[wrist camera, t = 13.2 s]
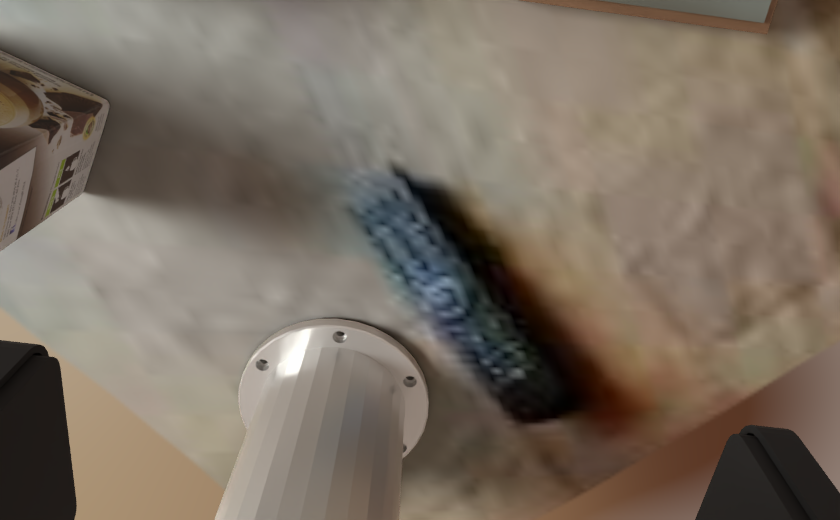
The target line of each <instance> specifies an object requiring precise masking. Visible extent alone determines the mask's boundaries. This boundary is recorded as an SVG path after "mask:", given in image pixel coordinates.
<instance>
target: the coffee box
mask: <svg viewBox="0 0 840 520" xmlns="http://www.w3.org/2000/svg"><path fill="white" fill-rule="evenodd" d="M109 107H110V104H109V102H108V101H107V100H106V99H104V98H101V97H99V96H97V95H95V94H93V93H91V92H89V91H87V90H85V89H82V88H80V87H78V86H76V85H74V84H72V83H70V82H67V81H65V80H63V79H61V78H59V77H57V76H54V75H52V74H50V73H48V72H46V71H44V70H42V69H40V68H37V67H35V66H33V65H31V64H29V63H27V62H25V61H23V60H20V59H18V58H16V57H14V56H12V55H10V54H8V53H5V52H3V51H1V50H0V251H1V250H3V249H4V248H6V247H7V246H9V245H10V244H11V243H13V242H14V241H15V240H17V239H18V238H20V237H21V236H23V235H24V234H26V233H27V232H29V231H30V230H31V229H33V228H34V227H36V226H37V225H38V224H40V223H41V222H43V221H44V220H46V219H47V218H49V217H50V216H51V215H52V214H54V213H55V212H57V211H58V210H60V209H61V208H62V207H64V206H65V205H67V204H68V203H69V202H71V201H72V200H74V199H75V198H77V197H78V196H79V195H81V194H82V193H83V192H84V189H85V186H86V182H87V179H88V176H89V173H90V170H91V167H92V164H93V161H94V157H95V154H96V151H97V148H98V145H99V141H100V138H101V135H102V132H103V129H104V125H105V122H106V119H107V115H108V111H109Z"/></svg>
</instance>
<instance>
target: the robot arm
mask: <svg viewBox="0 0 840 520" xmlns="http://www.w3.org/2000/svg"><path fill="white" fill-rule="evenodd" d="M339 331H341V332H343V333H341V332H339ZM238 404H239V409H240V413H241V418H242V420H243V422H244V425H245V427H246V429H247V433H246V436H245V439H244V441H243V444H242V447H241V449H240V452H239V455H238V458H237V460H236V463H235V466H234V468H233V471H232V474H231V476H230V479H229V482H228V485H227V487H226V490H225V493H224V495H223V498H222V501H221V504H220V506H219V509H218V512H217V514H216V517H215V520H399V513H400V494H401V476H402V459H403V458H404V457H406V456H407V455H408V454H409V453H410V451H411V450H412V449H413V448H414V447H415V446H416V445H417V443H418V441H419V439H420V438H421V436H422V434H423V432H424V429H425V426H426V422H427V419H428V407H429V399H428V387H427V384H426V381H425V378H424V375H423V372H422V371H421V369H420V367H419V365H418V364H417V362H416V360H415V359H414V358H413V356H412V355H411V354H410V353H409V352H408V351H407V350H406V348H405V347H404V346H402V345H401V344H400V343H399V342H397V341H396V340H395V339H393V338H392V337H391V336H389V335H387V334H385V333H384V332H382V331H380V330H378V329H376V328H374V327H371V326H368V325H365V324H362V323H359V322H356V321H350V320H343V319H314V320H309V321H303V322H299V323H296V324H294V325H291V326H288V327H286V328H283V329H282V330H280V331H278V332H277V333H275V334H273V335H272V336H270V337H269V338H267V339H266V340H265V341H264V342H263V343H262V344H261V345H260V346H259V347H258V348H257V349H256V351H255V352H254V353H253V355H252V356H251V358H250V359H249V361H248V363H247V366H246V368H245V370H244V372H243V374H242V378H241V382H240V386H239V397H238ZM75 514H76V496H75V487H74V478H73V470H72V462H71V454H70V445H69V436H68V428H67V420H66V412H65V403H64V395H63V387H62V378H61V371H60V365H59V362H58V360H57V359H56V358H54V357H49V356H48V352H47V350H46V349H45V347H44V346H42V345H37V344H28V343H20V342H11V341H2V340H0V520H74V518H75ZM695 520H840V493H839V492H838V490H837V489H836V487H835V486H834V485H833V483H832V482H831V481H830V479H829V478H828V476H827V475H826V474H825V472H824V471H823V470H822V468H821V467H820V466H819V464H818V463H817V462H816V460H815V459H814V457H813V456H812V455H811V454H810V452H809V450H808V449H807V448H806V447H805V445H804V444H803V442H802V441H801V440H800V438H799V437H798V436H797V435H796V434H795V433H794V432H793V431H791V430H789V429H781V428H773V427H764V426H755V425H749V426H745V427H744V428H743V429H742V430H741V432H740V433H739V434H733V435H731V436H730V437H729V439H728V441H727V443H726V445H725V448H724V450H723V453H722V455H721V458H720V460H719V462H718V465H717V467H716V470H715V472H714V475H713V477H712V480H711V482H710V484H709V487H708V489H707V492H706V495H705V497H704V499H703V502H702V504H701V507H700V509H699V512H698V514H697V517H696V519H695Z"/></svg>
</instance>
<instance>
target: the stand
mask: <svg viewBox="0 0 840 520" xmlns="http://www.w3.org/2000/svg"><path fill="white" fill-rule="evenodd" d="M521 1H528V2H536V3H543V4H550V5H558V6H565V7H572V8H580V9H587V10H594V11H601V12H609V13H616V14H623V15H631V16H638V17H645V18H653V19H660V20H667V21H674V22H682V23H689V24H696V25H704V26H711V27H718V28H726V29H733V30H740V31H747V32H755V33H762V34H767V32H768V29H769V26H770V23H771V20H772V17H773V14H774V11H775V8H776V5H777V2H778V0H521Z"/></svg>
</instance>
